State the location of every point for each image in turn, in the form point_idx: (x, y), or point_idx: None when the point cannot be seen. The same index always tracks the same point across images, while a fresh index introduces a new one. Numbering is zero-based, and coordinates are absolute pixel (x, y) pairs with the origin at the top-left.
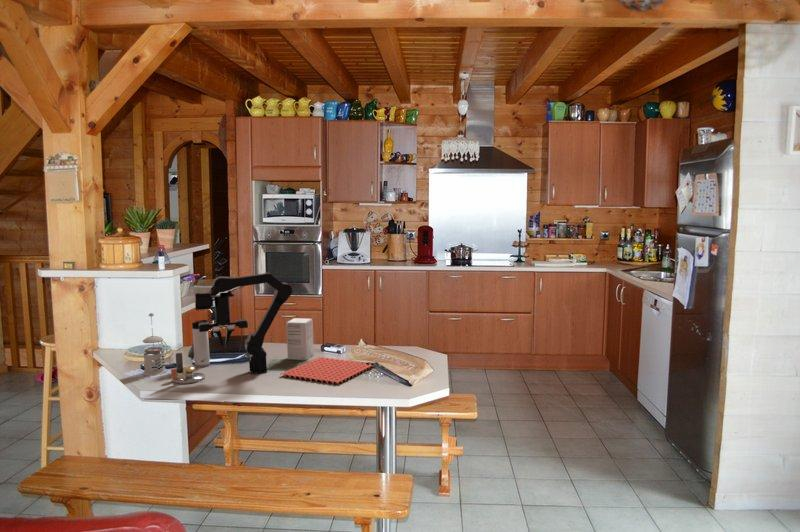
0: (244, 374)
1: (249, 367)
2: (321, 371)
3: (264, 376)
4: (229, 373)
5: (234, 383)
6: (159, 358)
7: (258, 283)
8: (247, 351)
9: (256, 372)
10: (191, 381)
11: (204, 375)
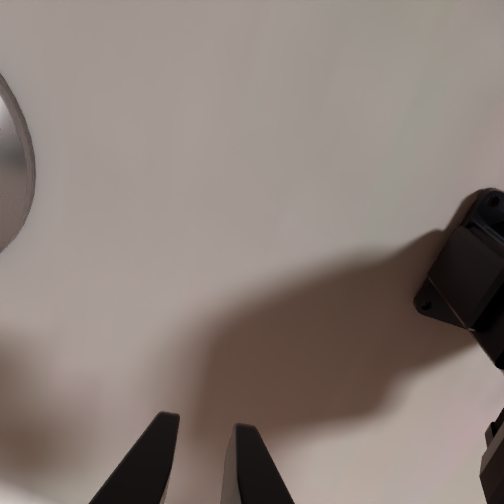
0: (364, 283)
1: (439, 290)
2: None
3: (451, 405)
4: (270, 176)
5: (219, 432)
6: None
7: None
8: (483, 479)
9: (453, 322)
10: None
11: (20, 191)
